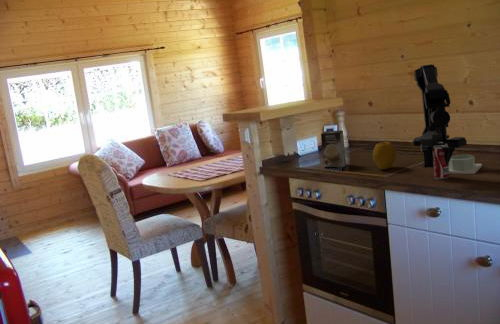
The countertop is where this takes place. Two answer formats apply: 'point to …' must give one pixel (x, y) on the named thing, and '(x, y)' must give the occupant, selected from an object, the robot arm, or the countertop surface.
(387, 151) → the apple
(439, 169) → the soda can
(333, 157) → the coffee box
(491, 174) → the countertop surface
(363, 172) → the countertop surface
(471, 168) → the can holder
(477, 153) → the countertop surface
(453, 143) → the robot arm
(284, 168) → the countertop surface
